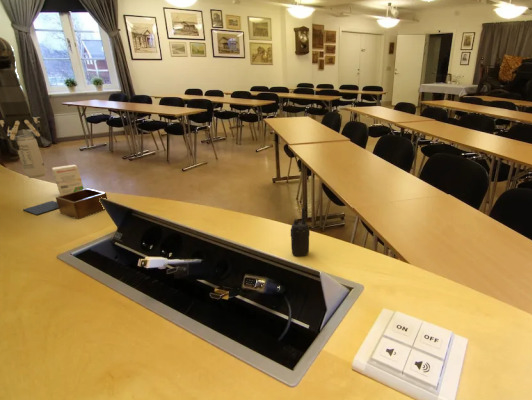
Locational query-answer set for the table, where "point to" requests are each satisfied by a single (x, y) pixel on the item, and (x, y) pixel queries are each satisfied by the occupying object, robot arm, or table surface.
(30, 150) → the energy drink can
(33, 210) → the coaster
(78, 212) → the brown wooden box
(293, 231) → the two-way radio
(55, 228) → the table surface
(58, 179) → the ink box
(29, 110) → the robot arm
